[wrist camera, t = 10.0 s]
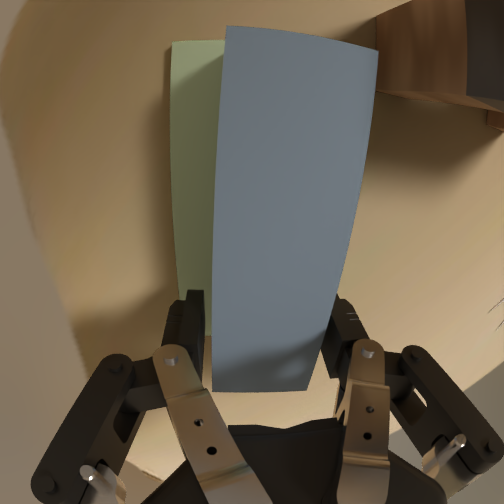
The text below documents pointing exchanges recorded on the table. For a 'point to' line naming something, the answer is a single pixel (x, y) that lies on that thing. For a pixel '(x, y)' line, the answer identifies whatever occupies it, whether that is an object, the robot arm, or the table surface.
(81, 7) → the table surface
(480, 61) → the block arch
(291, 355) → the blue slab
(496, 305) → the scissors
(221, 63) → the pad
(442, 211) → the table surface
